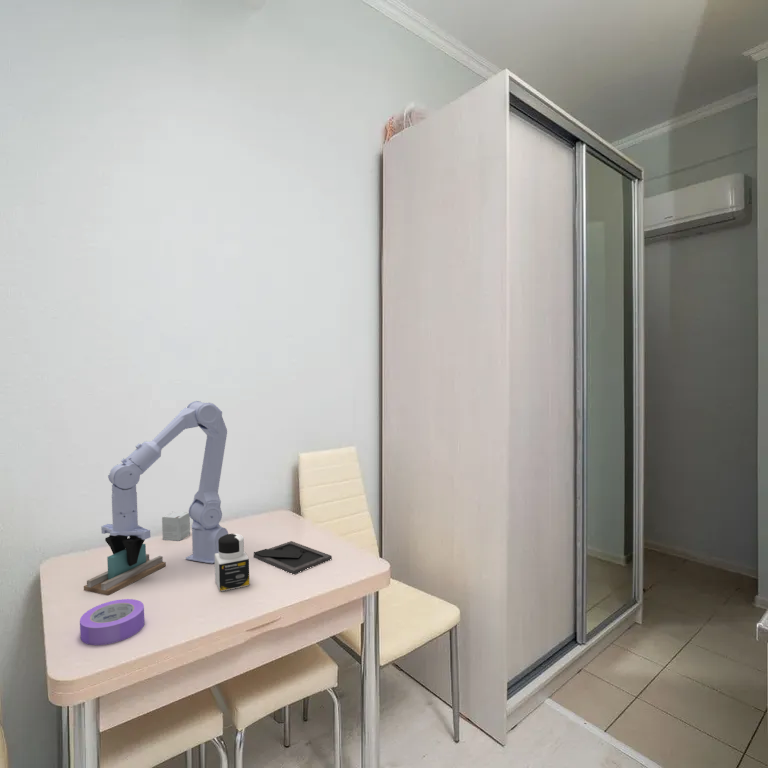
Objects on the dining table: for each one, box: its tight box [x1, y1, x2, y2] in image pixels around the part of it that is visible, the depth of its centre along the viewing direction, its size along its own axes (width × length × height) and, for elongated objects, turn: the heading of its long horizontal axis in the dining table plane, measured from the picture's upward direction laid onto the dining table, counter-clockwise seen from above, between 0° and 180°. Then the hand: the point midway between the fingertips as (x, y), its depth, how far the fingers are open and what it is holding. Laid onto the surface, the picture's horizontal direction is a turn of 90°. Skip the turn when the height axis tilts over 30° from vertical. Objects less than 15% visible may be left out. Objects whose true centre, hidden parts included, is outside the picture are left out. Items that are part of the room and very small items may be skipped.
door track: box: [83, 553, 167, 596], centre depth 128 cm, size 8×18×2 cm, turn 160°
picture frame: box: [253, 540, 333, 575], centre depth 139 cm, size 13×2×18 cm
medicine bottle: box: [214, 533, 250, 592], centre depth 124 cm, size 7×7×12 cm
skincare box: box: [161, 511, 191, 542], centre depth 158 cm, size 6×6×7 cm
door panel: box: [106, 543, 147, 580], centre depth 128 cm, size 2×10×6 cm, turn 159°
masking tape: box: [79, 598, 146, 646], centre depth 103 cm, size 12×12×4 cm
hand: (126, 563), depth 128 cm, fingers open, 4 cm apart
